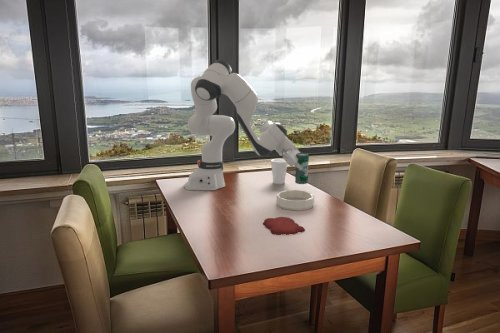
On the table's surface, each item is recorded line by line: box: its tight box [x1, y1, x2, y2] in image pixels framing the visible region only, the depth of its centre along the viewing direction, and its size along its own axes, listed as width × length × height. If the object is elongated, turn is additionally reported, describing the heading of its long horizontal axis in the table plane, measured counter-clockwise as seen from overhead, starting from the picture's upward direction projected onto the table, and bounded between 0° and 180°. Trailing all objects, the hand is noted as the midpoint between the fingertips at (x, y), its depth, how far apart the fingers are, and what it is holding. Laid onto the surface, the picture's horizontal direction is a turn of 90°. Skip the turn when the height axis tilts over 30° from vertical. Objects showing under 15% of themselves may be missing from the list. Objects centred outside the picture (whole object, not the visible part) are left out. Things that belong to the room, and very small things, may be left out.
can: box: [294, 152, 310, 185], centre depth 192 cm, size 6×6×15 cm
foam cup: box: [270, 158, 289, 185], centre depth 213 cm, size 10×9×13 cm
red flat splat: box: [262, 216, 305, 236], centre depth 151 cm, size 18×14×2 cm
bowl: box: [275, 189, 315, 212], centre depth 177 cm, size 17×17×4 cm
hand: (303, 167), depth 192 cm, fingers closed on can, 6 cm apart
